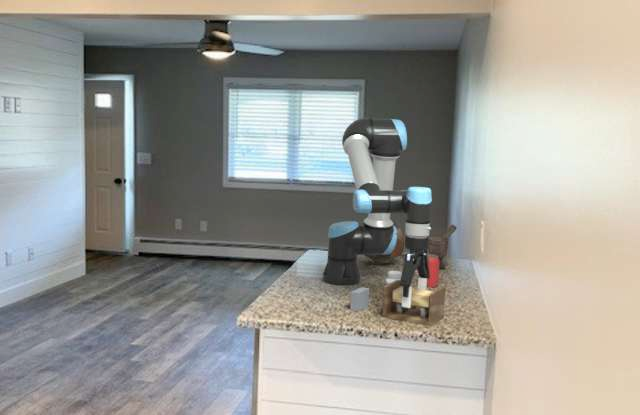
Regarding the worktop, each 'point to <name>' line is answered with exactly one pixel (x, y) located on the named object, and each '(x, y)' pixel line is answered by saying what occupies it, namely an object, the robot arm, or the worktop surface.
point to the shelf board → (414, 297)
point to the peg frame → (411, 315)
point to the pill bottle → (393, 277)
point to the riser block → (359, 299)
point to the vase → (396, 252)
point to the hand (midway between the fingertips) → (414, 302)
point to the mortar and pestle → (440, 245)
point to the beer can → (433, 270)
